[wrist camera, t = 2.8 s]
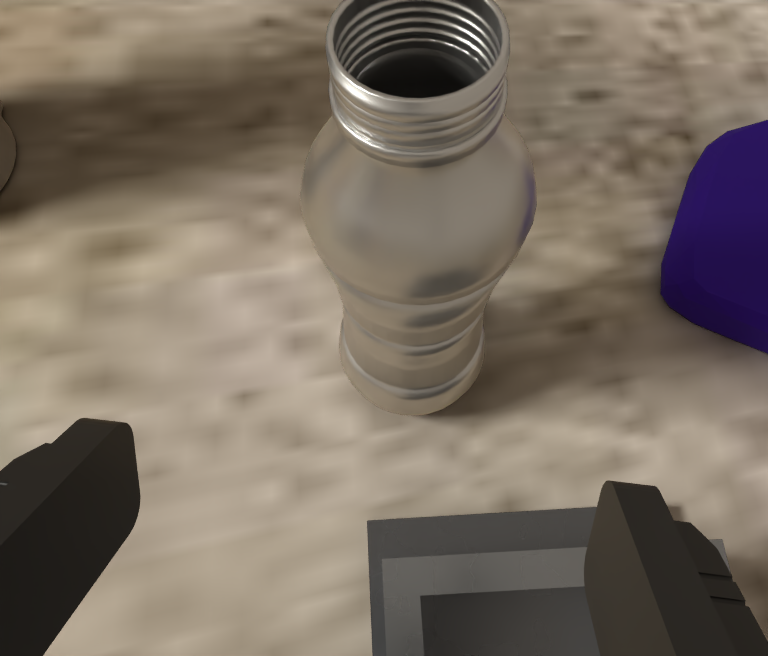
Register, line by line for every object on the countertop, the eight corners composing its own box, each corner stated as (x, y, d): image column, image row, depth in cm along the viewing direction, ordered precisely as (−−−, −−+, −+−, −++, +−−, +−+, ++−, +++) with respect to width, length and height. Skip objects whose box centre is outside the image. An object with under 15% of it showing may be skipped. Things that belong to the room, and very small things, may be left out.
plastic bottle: (356, 296, 32) (286, -87, 14) (486, 313, 32) (594, -64, 13) (333, 415, 30) (209, 146, 11) (472, 436, 29) (582, 188, 11)
